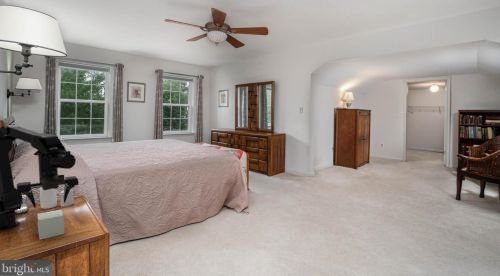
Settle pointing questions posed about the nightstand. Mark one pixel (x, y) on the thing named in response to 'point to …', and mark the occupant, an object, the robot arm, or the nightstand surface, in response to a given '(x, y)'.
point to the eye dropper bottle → (69, 198)
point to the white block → (50, 224)
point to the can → (48, 198)
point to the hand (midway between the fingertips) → (50, 205)
